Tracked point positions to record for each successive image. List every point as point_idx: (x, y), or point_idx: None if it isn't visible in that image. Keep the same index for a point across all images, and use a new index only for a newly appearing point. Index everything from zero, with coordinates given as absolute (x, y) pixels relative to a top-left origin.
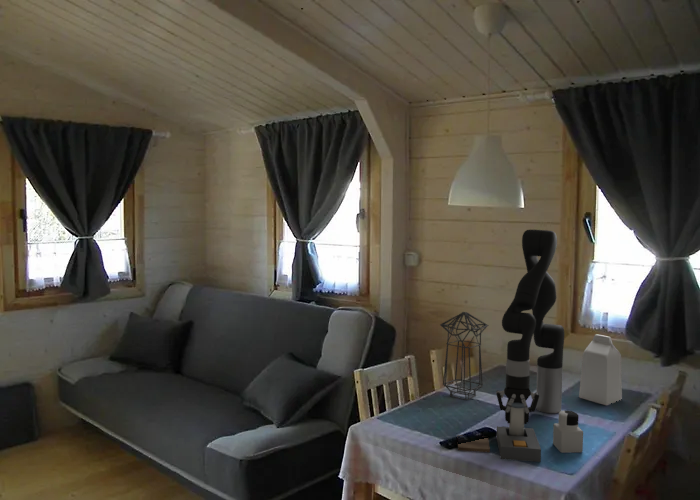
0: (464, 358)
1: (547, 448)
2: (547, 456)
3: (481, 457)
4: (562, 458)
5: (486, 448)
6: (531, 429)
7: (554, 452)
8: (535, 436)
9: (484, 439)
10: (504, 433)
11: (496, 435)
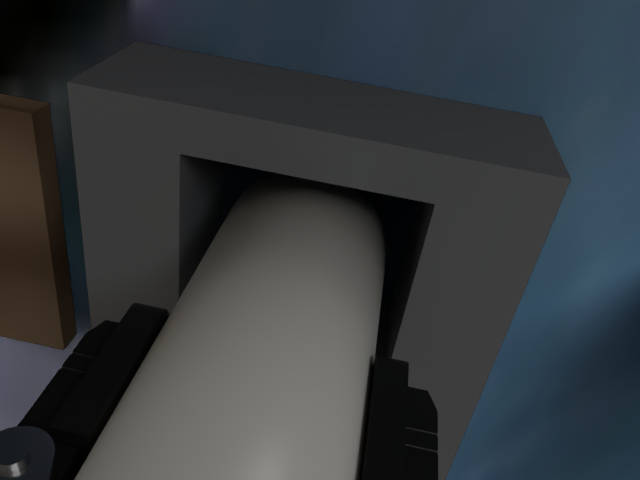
0: None
1: (588, 309)
2: (502, 425)
3: (25, 387)
4: (605, 461)
5: (37, 333)
6: (524, 211)
7: (605, 378)
8: (473, 387)
9: (4, 167)
10: (153, 294)
11: (124, 51)
